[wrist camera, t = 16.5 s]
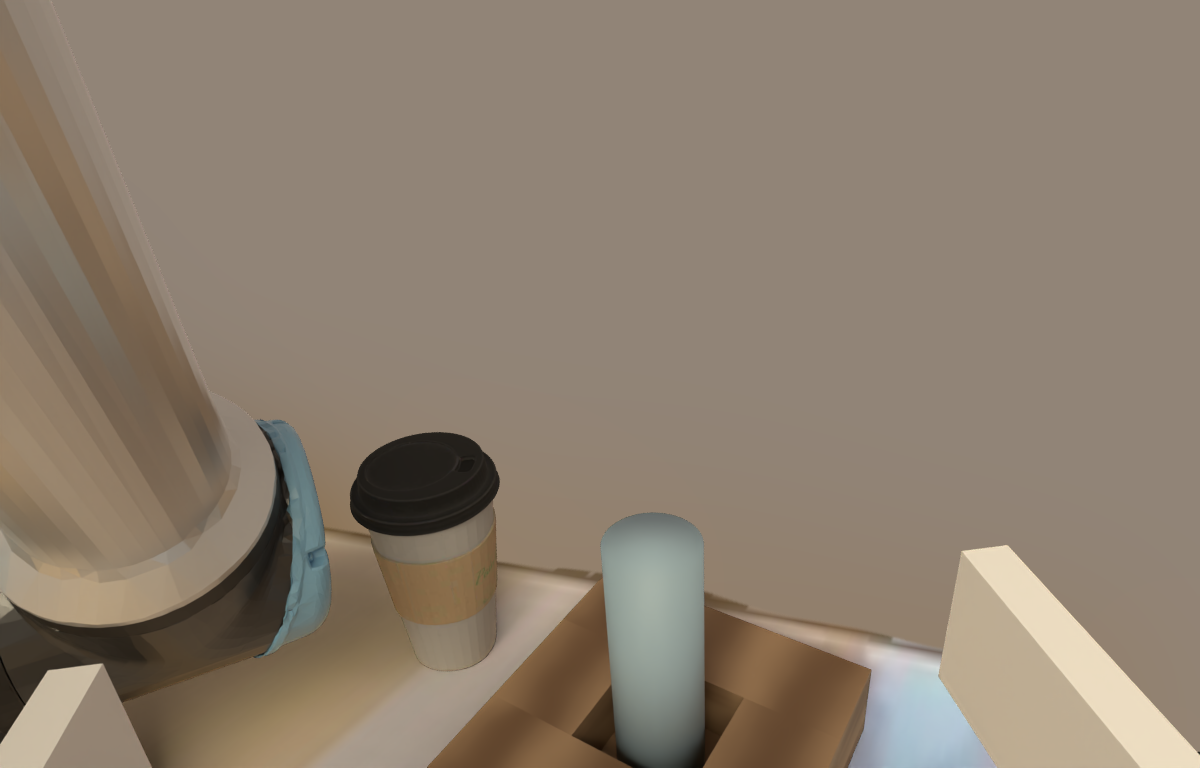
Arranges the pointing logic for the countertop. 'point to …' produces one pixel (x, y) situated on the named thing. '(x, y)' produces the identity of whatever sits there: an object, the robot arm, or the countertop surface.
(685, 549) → the peg
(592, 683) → the socket block
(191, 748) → the countertop surface
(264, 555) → the robot arm
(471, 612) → the coffee cup
